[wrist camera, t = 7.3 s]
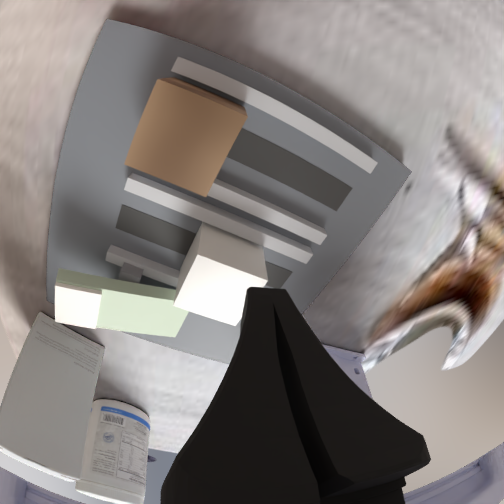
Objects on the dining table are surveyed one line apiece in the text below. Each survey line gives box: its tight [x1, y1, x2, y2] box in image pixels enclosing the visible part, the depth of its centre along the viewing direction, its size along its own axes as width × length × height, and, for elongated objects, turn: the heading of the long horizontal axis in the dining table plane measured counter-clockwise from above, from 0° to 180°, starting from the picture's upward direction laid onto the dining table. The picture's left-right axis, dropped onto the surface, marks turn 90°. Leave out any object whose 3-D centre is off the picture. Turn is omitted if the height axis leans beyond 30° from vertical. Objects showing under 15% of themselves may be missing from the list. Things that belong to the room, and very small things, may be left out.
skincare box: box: [0, 312, 105, 482], centre depth 20 cm, size 8×6×15 cm
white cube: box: [173, 222, 268, 326], centre depth 18 cm, size 4×4×4 cm
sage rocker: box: [55, 268, 189, 337], centre depth 18 cm, size 9×4×1 cm, turn 62°
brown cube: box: [124, 77, 248, 197], centre depth 13 cm, size 4×4×4 cm
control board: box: [46, 19, 412, 364], centre depth 18 cm, size 20×22×3 cm
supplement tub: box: [75, 399, 150, 504], centre depth 29 cm, size 10×10×15 cm
